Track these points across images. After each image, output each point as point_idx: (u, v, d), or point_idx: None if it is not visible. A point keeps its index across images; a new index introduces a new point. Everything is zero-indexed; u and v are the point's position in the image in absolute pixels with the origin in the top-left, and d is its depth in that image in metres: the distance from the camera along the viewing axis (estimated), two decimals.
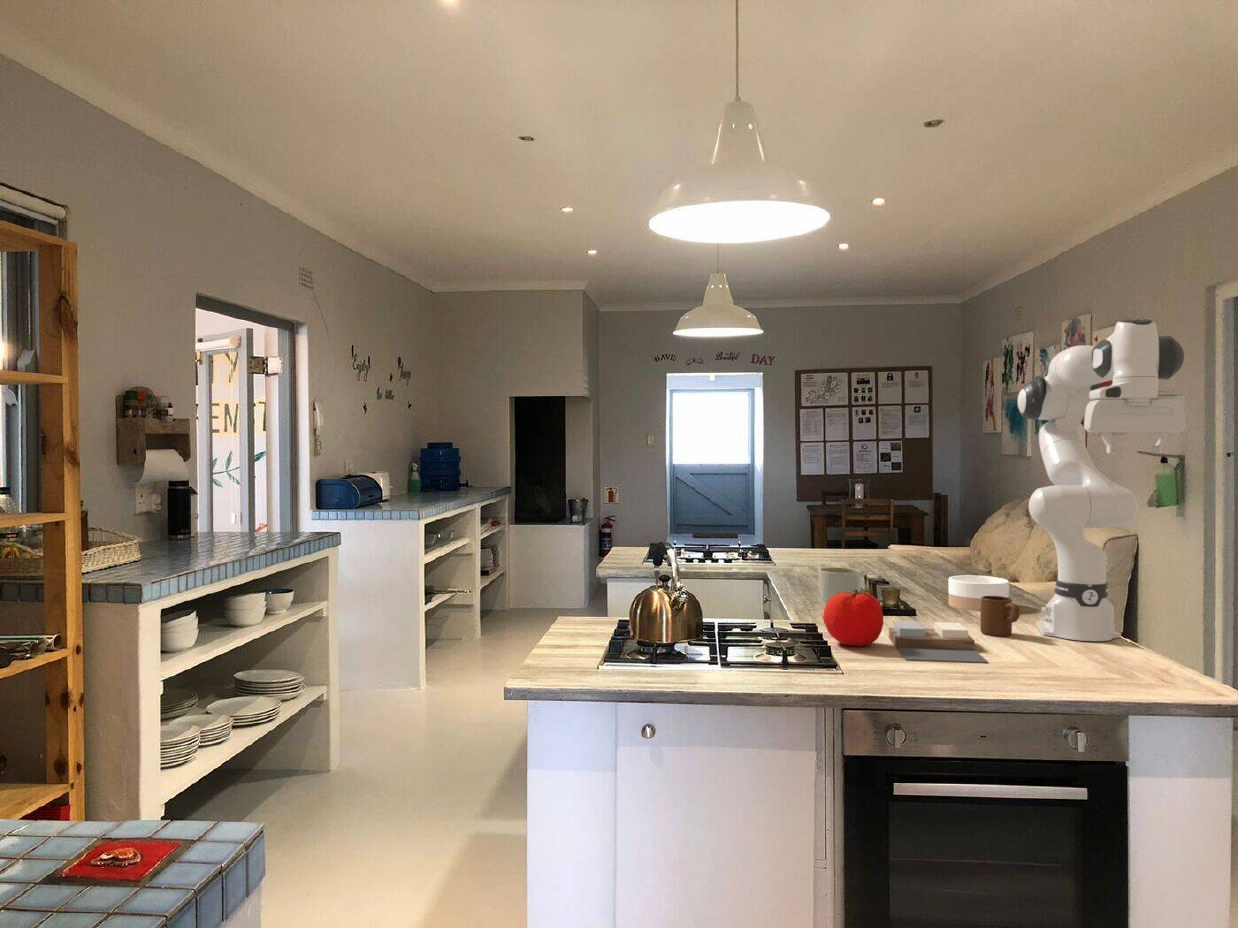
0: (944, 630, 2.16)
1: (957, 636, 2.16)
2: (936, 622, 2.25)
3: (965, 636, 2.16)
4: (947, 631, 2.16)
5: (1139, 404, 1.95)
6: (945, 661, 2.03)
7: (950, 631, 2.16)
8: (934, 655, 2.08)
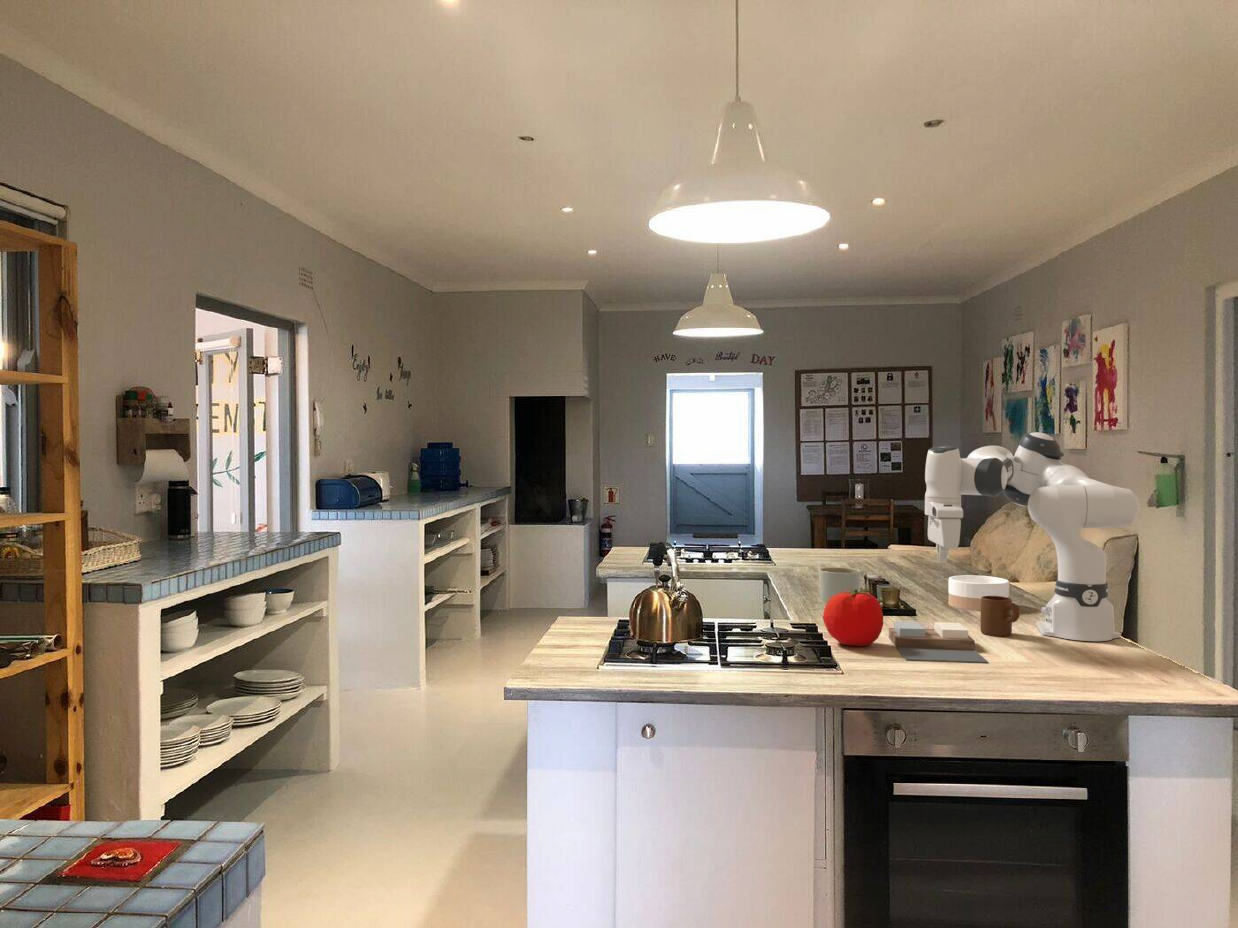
0: (944, 630, 2.16)
1: (957, 636, 2.16)
2: (936, 622, 2.25)
3: (965, 636, 2.16)
4: (947, 631, 2.16)
5: None
6: (945, 661, 2.03)
7: (950, 631, 2.16)
8: (934, 655, 2.08)
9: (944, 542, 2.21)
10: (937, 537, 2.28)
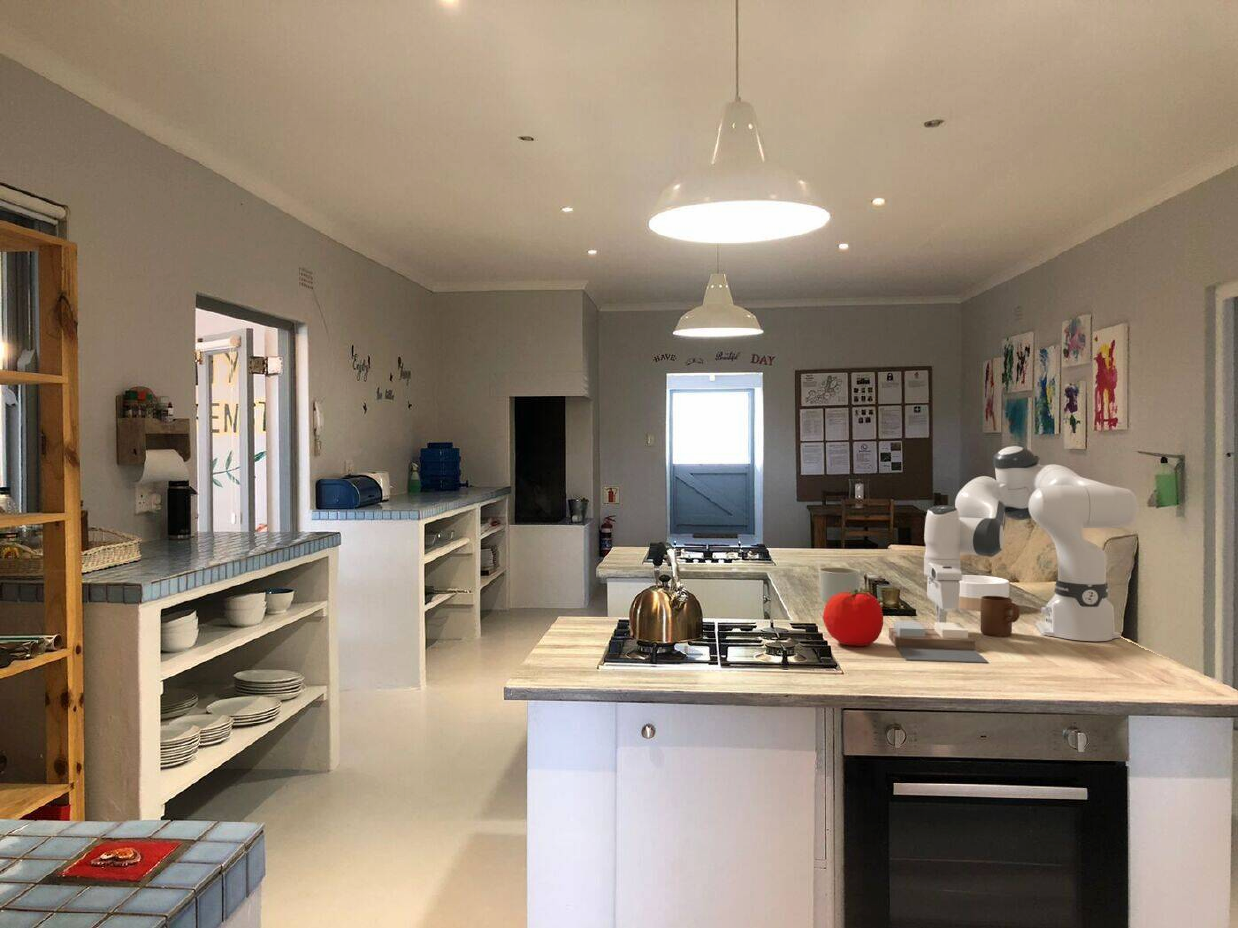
0: (944, 630, 2.16)
1: (957, 636, 2.16)
2: (936, 622, 2.25)
3: (965, 636, 2.16)
4: (947, 631, 2.16)
5: None
6: (945, 661, 2.03)
7: (950, 631, 2.16)
8: (934, 655, 2.08)
9: (943, 605, 2.21)
10: (936, 598, 2.28)
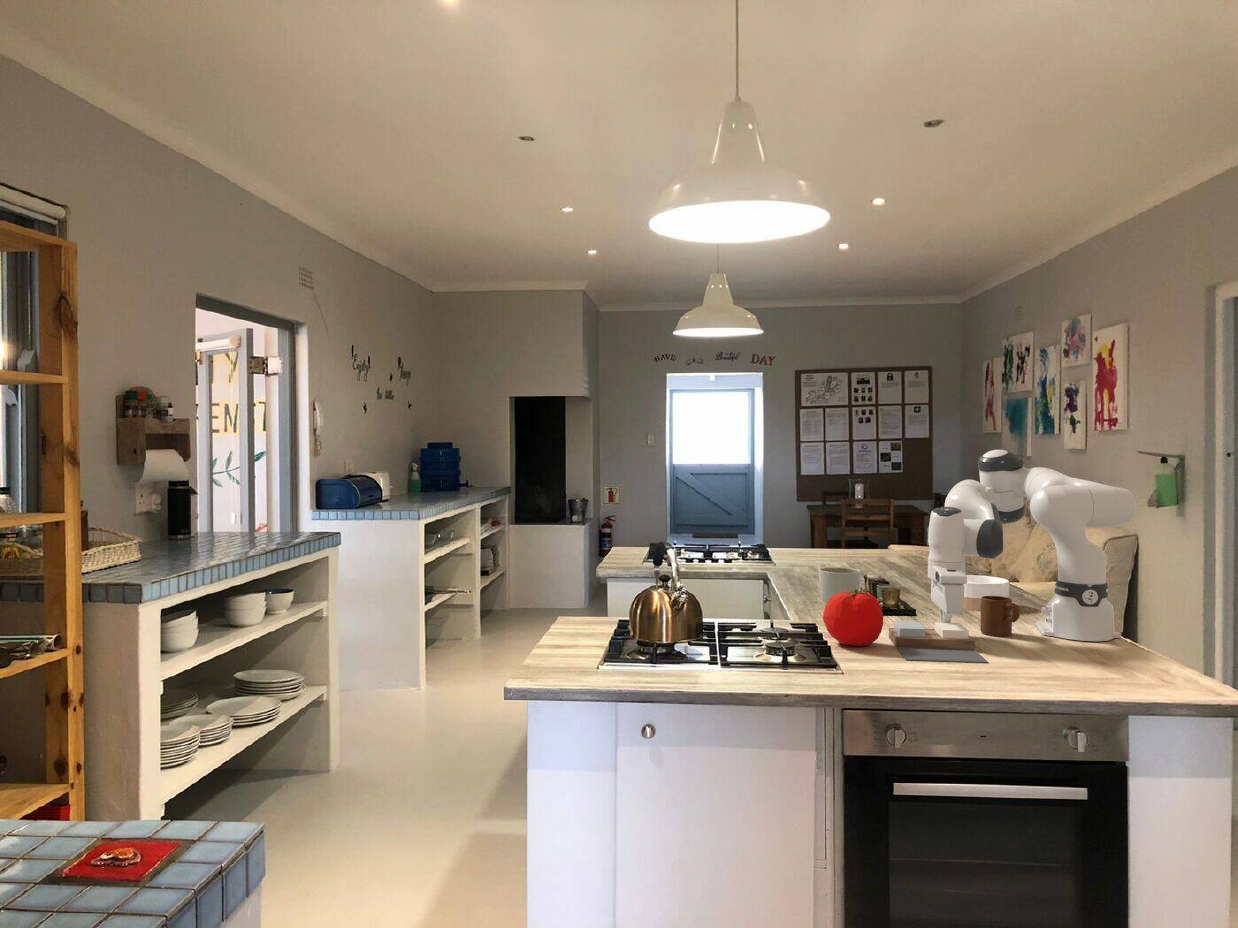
0: (944, 630, 2.16)
1: (957, 636, 2.15)
2: None
3: (965, 636, 2.15)
4: (947, 631, 2.16)
5: None
6: (945, 661, 2.03)
7: (950, 631, 2.16)
8: (934, 655, 2.08)
9: (947, 609, 2.16)
10: (940, 601, 2.23)
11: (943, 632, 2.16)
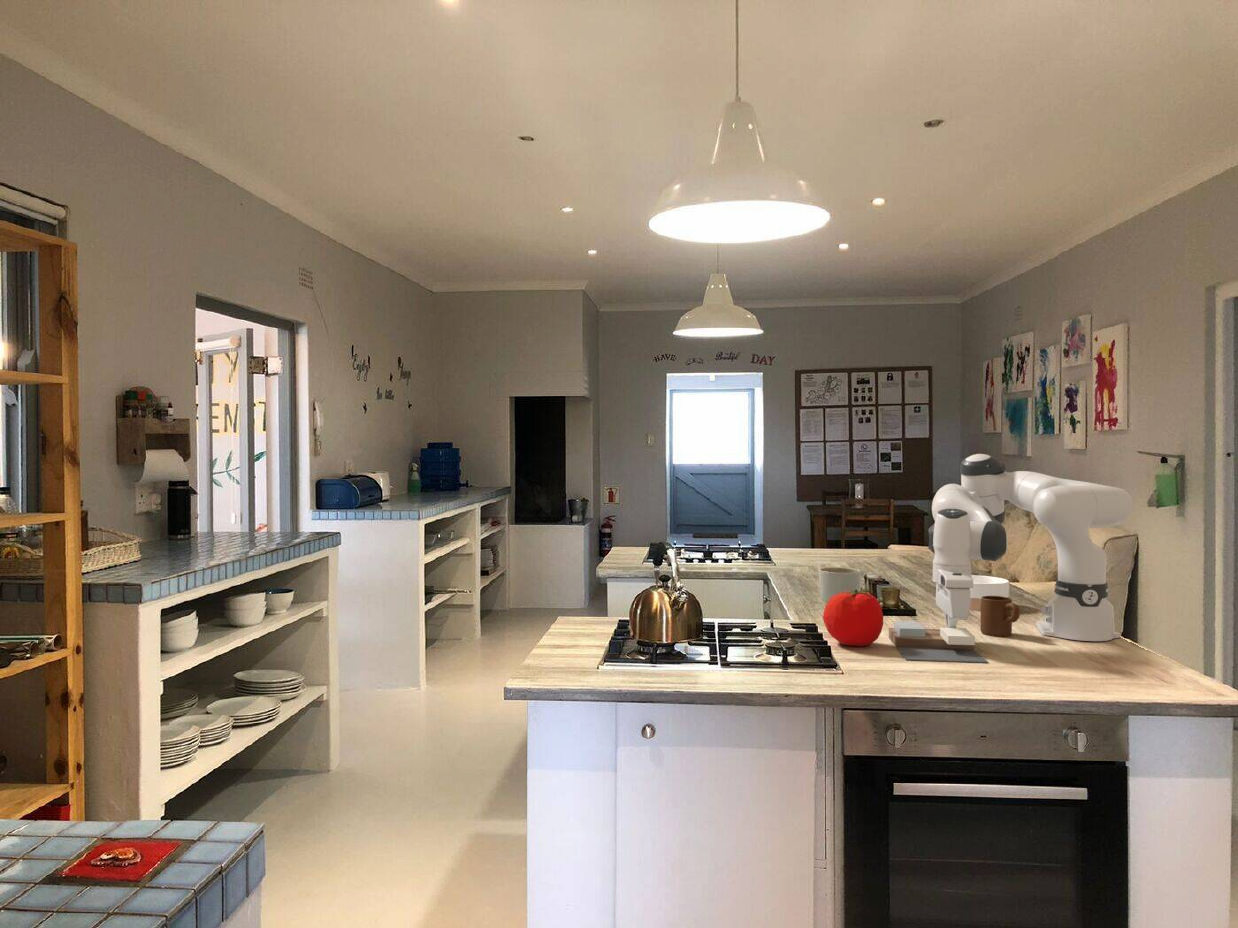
0: (950, 636, 2.10)
1: (963, 643, 2.09)
2: (942, 627, 2.18)
3: (972, 643, 2.09)
4: (953, 637, 2.09)
5: None
6: (945, 661, 2.03)
7: (956, 637, 2.09)
8: (934, 655, 2.08)
9: (953, 614, 2.10)
10: (946, 606, 2.17)
11: (949, 638, 2.10)
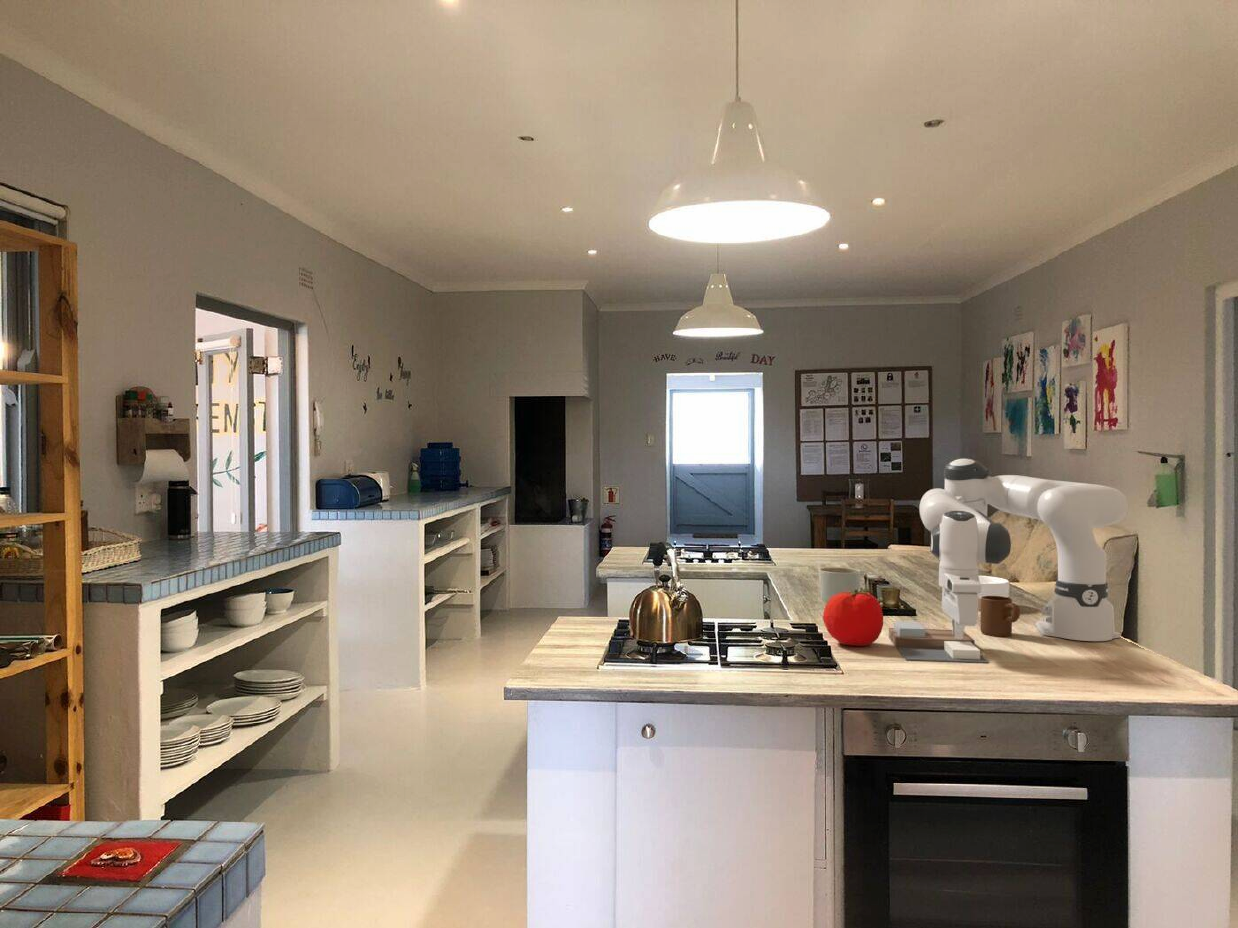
0: (955, 650, 2.05)
1: (968, 656, 2.04)
2: (946, 641, 2.13)
3: (977, 657, 2.04)
4: (958, 651, 2.05)
5: None
6: (945, 661, 2.03)
7: (961, 651, 2.05)
8: (934, 655, 2.08)
9: (960, 619, 2.03)
10: (952, 611, 2.10)
11: (953, 652, 2.05)
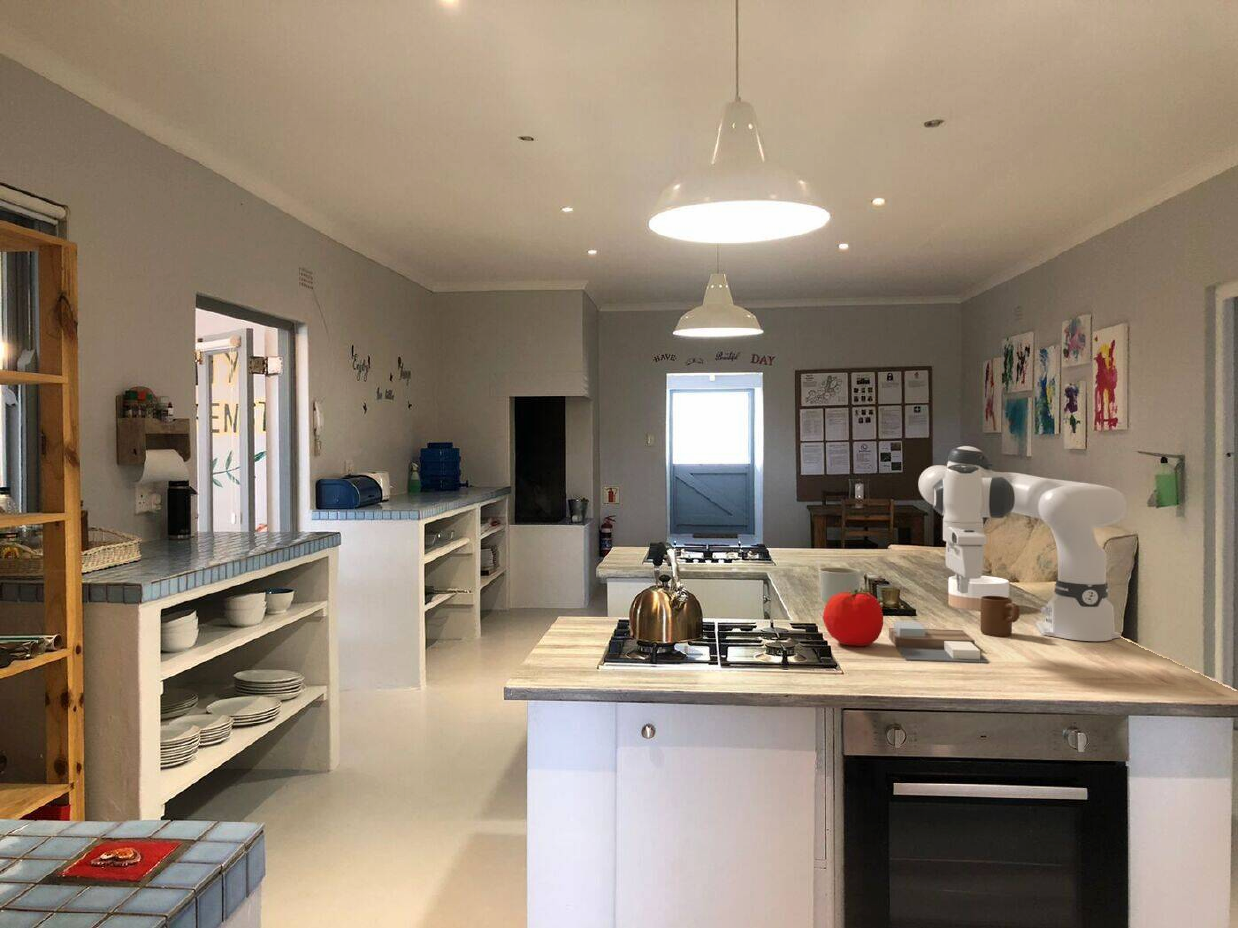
0: (955, 650, 2.05)
1: (968, 656, 2.04)
2: (946, 641, 2.13)
3: (977, 657, 2.04)
4: (958, 651, 2.05)
5: None
6: (945, 661, 2.03)
7: (961, 651, 2.05)
8: (934, 655, 2.08)
9: (966, 572, 2.00)
10: (957, 565, 2.07)
11: (953, 652, 2.05)
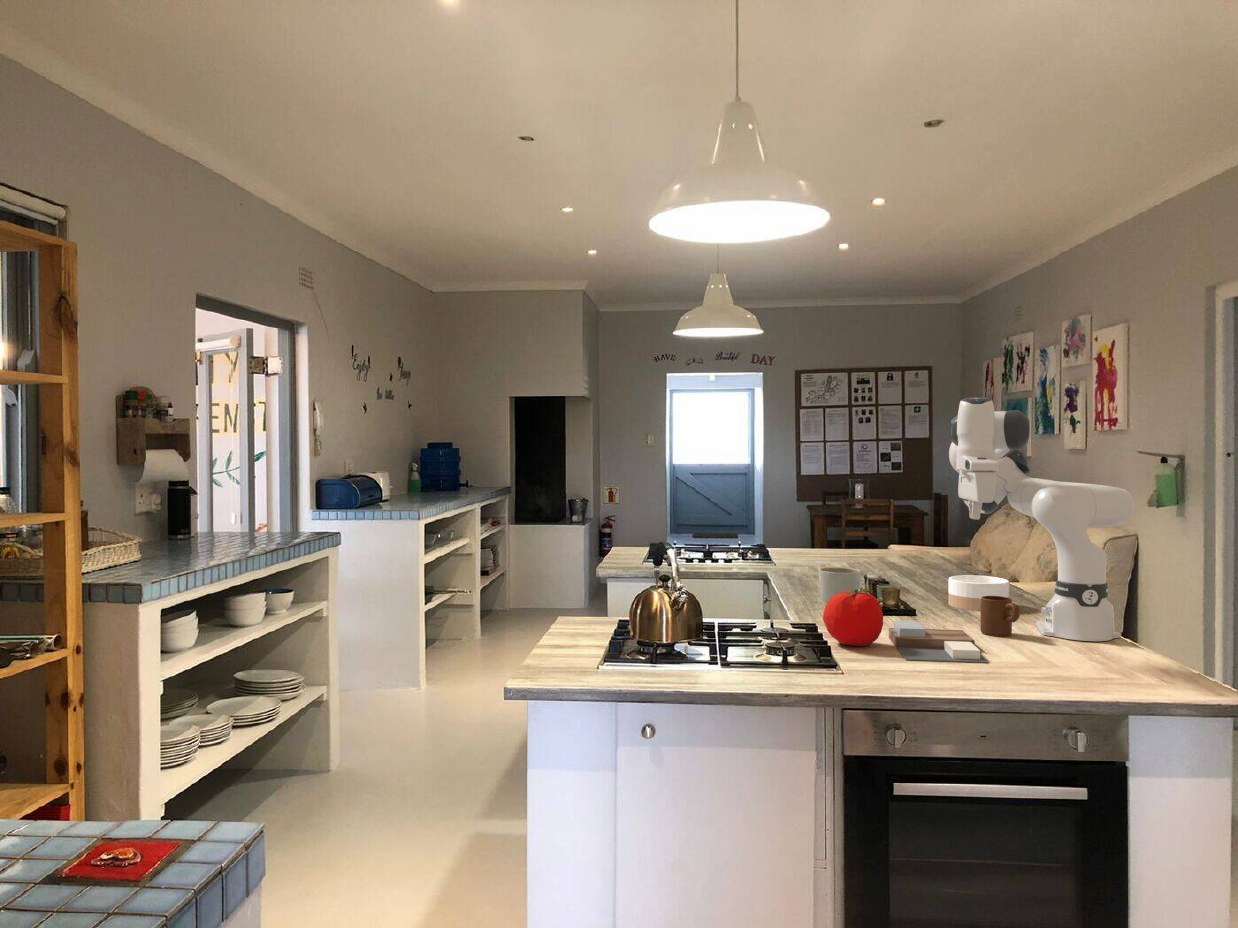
0: (955, 650, 2.05)
1: (968, 656, 2.04)
2: (946, 641, 2.13)
3: (977, 657, 2.04)
4: (958, 651, 2.05)
5: None
6: (945, 661, 2.03)
7: (961, 651, 2.05)
8: (934, 655, 2.08)
9: (978, 496, 2.10)
10: (970, 492, 2.17)
11: (953, 652, 2.05)
